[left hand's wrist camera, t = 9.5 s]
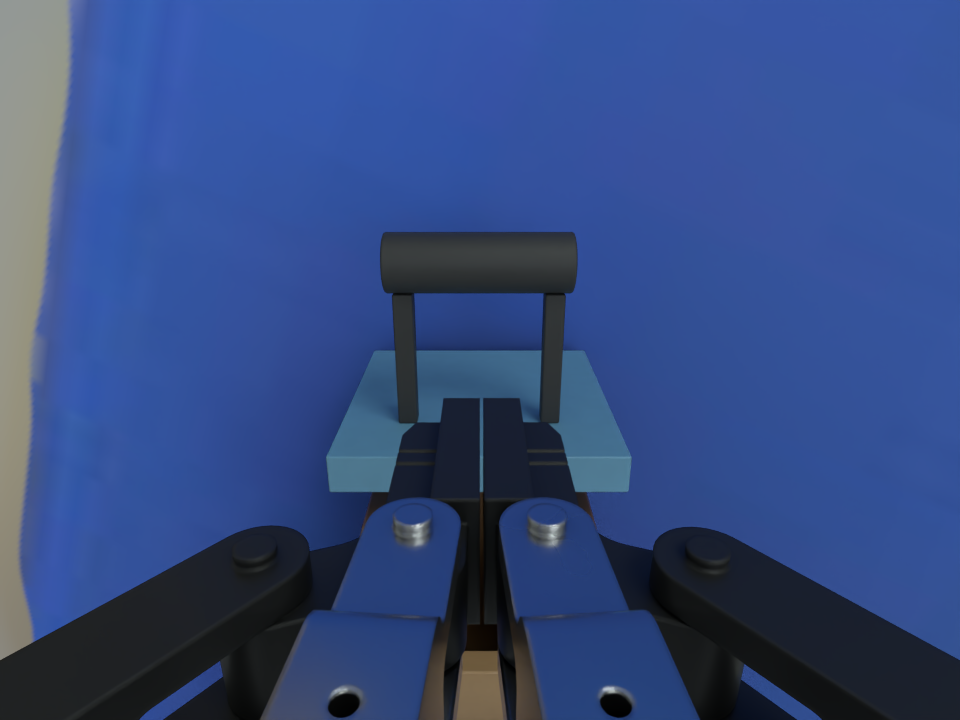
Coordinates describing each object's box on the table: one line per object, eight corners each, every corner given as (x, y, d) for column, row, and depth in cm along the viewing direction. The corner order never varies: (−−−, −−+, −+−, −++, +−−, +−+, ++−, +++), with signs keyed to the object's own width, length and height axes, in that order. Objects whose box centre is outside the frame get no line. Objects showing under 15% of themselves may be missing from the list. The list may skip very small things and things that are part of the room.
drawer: (364, 203, 24) (303, 248, 16) (593, 203, 24) (653, 248, 16) (397, 700, 33) (370, 890, 25) (562, 700, 33) (588, 890, 25)
